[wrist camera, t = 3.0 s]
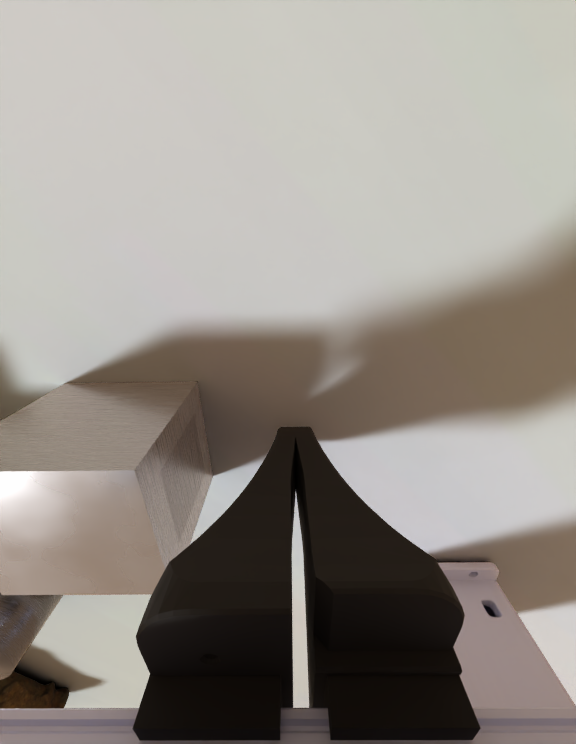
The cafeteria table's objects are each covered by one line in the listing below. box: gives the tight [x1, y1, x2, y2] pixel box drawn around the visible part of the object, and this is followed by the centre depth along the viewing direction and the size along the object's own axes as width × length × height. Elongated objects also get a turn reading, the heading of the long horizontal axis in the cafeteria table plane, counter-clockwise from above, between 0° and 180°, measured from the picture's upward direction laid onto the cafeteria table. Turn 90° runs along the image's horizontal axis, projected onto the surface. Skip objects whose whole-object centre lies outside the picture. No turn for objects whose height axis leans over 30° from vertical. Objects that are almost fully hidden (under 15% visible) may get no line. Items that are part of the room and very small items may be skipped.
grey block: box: [0, 381, 213, 595], centre depth 10 cm, size 6×5×5 cm
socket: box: [0, 593, 63, 680], centre depth 15 cm, size 4×4×4 cm
